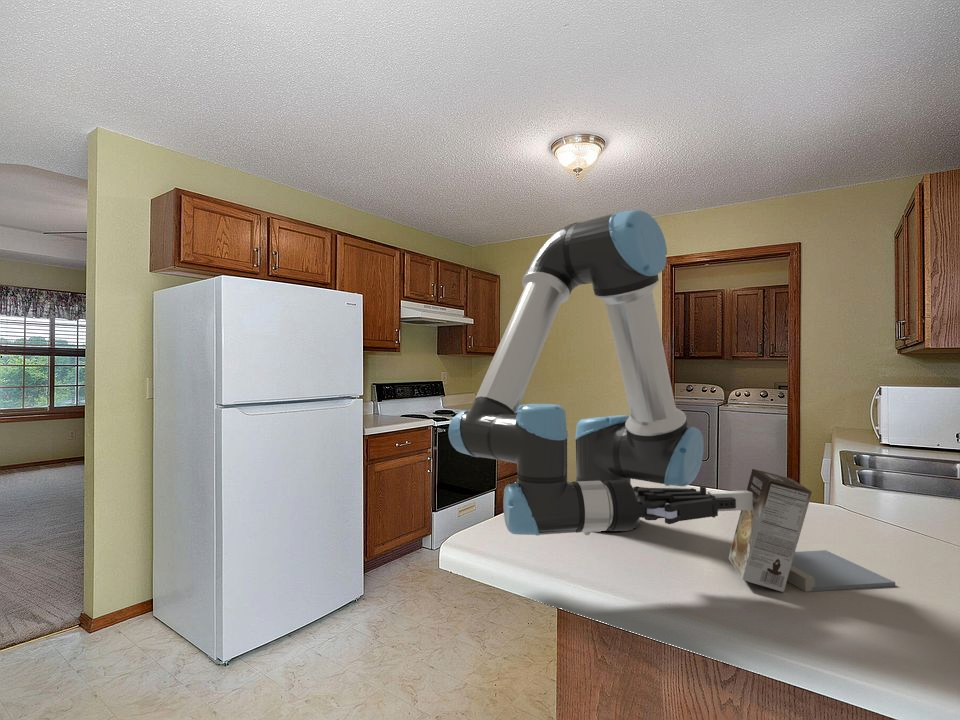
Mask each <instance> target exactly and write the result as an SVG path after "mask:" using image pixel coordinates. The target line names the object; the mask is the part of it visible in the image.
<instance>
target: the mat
mask: <svg viewBox="0 0 960 720" xmlns="http://www.w3.org/2000/svg"><path fill="white" fill-rule="evenodd" d="M787 582H788V583H790V584H791V585H794V586H795V587H797V588H799V589H800V590H802V591H804V592H806V593H807V592H820V591H823V592H824V591H838V590H852V589H853V590H855V589H868V588H870V589H871V588H883V587H884V588H885V587H886V588H887V587H896V581H894V580H892V579H890V578H887V577H885V576H883V575H881V574H878V573H877V572H874V571H872V570H870V569H868V568H865V567H863V566H861V565H859V564H857V563H855V562H852V561H850V560H849V559H845V558H843V557H841V556H840V555H837V554H835V553H832V552H831V551H829V550H826V549H824V550H822V549H821V550H807V551H806V550H803V551H795V554H794V557H793V561H792V565H791V568H790V572H789V575H788V579H787Z"/></svg>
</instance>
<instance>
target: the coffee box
mask: <svg viewBox="0 0 960 720" xmlns="http://www.w3.org/2000/svg"><path fill="white" fill-rule="evenodd" d="M746 490H747V491H750V492H752V502H753V510H740V513H739V516H738V521H737V524H736V528H735V533H734V535H733V540H732V543H731V547H730V550H729V554H728V560H729V561H730V564H731V565H732V566H733V568H734V570H735V571H736V572H737V574H738V575H739V577H740V578H741V579H742V581H745V582H748V583H751V584H755V585H759V586H762V587H764V588H768V589H772V590H775V591H778V592H781V593H784V592H785V589H786V585H787V582H788V581H787V579H788V575H789V572H790V568H791V565H792V561H793V557H794V554H795V552H796V550H797V546H798V543H799V539H800V536H801V532H802V529H803V525H804V523H805V518H806V515H807V511H808V508H809V503H810V500H811V496H812V494H813V491H812V490H811V489H808V488H807V487H805V486H804V485H802V484H800V483H799V482H797V481H796V480H794V479H793V478H790V477H786V476H782V475H778V474H774V473H770V472H768V471H763V470H759V469H756V468H752V470H751V472H750V476H749V479H748V483H747V488H746Z"/></svg>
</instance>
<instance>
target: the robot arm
mask: <svg viewBox="0 0 960 720" xmlns="http://www.w3.org/2000/svg"><path fill="white" fill-rule="evenodd" d="M667 253H668V249H667V242H666V239H665V236H664V232H663V230H662V227H660V225H659V224H658V221H656V219H655V218H654V217H653V216H652V215H651V214H649V213H648V212H646V211H644V210H641V209H632V210H625V211H617V212H613V213H610V214H606V215H604V216H600V217H599V216H598V217H596V218H592V219H587V220H584V221H580V222H574V223H569V224H567V225H565V226H563V227H561V228H560V229H559V230H557V231H556V232H554V233H553V234H552V235H550V237H549V238H548V239H547V240H546V241H545V242H544V243H543V245H542V246H541V247H540V248H539V249H538V251H537V252H536V253H535V255H534V257H533V258H532V260H531V262H530V263H529V265H528V267H527V269H526V271H525V273H524V275H523V277H522V279H521V284H522V288H523V291H522V293H521V295H520V297H519V300H518V301H517V303H516V306H515V308H514V310H513V313H512V314H511V317H510V319H509V321H508V323H507V326H506V328H505V331H504V333H503V335H502V337H501V340H500V342H499V343H498V346H497V349H496V351H495V353H494V355H493V357H492V359H491V362H490V364H489V367H488V368H487V371H486V374H485V376H484V378H483V381H482V382H481V384H480V387H479V389H478V391H477V394H476V396H475V398H474V401H473V403H472V405H471V407H470V409H466V410H461V411H459V412H458V413H456V415H455V416H453V418H452V419H451V421H450V422H449V426H448V431H447V432H448V439H449V440H448V441H449V442H450V445H451V446H452V448H454V449H455V451H456V452H459V453H461V454H464V455H468V456H471V457H475V458H483V459H485V458H486V459H491V460H497V461H502V462H506V463H513V464H516V465H517V466H516V467H517V480H516V482H513V483H508V484H506V486H505V487H504V490H503V497H502V498H503V499H502V504H503V508H502V509H503V517H504V518H503V519H504V523H505V527H506V529H507V531H508V532H509V533H510V534H512V535H518V536H519V535H520V536H521V535H523V536H524V535H525V536H526V535H529V536H530V535H534V536H543V535H556V534H557V535H558V534H572V533H573V534H574V533H577V534H578V533H583V535H585V536H589V535H590V534H591V532H593V533H594V532H595V533H596V532H597V533H598V532H601V531H621V532H627V531H628V532H629V531H633V530H634V529H633V528H635V527H637V526H638V525H639V526H640V524H639V523H640V521H641V520H640V519H641V518H642V519H644V520H646V521H657V520H659V519H664V523H665V524H668V525H672V524H675V523H678V522H684V521H691V520H697V519H698V520H699V519H705V518H713V519H714V518H716V517H718V515H719V512H735V511H736V512H737V511H741V510H753V502H752V492H750V491H747V489H746V490H742V489H741V490H723V491H722V490H721V491H717V490H715V491H707V487H706V486H699V490H698V491H697V489H696V488H681V487H686V486H689V485H690V484H692V482H693V481H694V480H695V479H696V478H697V475H698V474H699V472H700V469H701V466H702V462H703V457H704V449H705V448H704V447H705V446H704V437H703V434H702V432H701V430H700V429H699V428H697V427H695V426H689V423H688V421H687V415H686V413H685V412H684V411H683V410H681V409H679V408H677V406H676V402H675V398H674V393H673V388H672V382H671V377H670V372H669V367H668V363H667V358H666V353H665V348H664V344H663V342H664V341H663V338H662V333H661V328H660V324H659V319H658V313H657V309H656V304H655V299H654V294H653V292H654V289H655V288H656V286H657V285H658V283H659V282H660V279H659V274H660V273H661V272H662V271H663V270H664V269H665V267H666V264H667V257H666V256H667ZM588 284H591V285H592V289H593V293H594V296H595V297H596V298H597V299H598V300H601V301H602V302H604V303H605V309H606V312H607V317H608V320H609V321H608V323H609V326H610V329H611V335H612V339H613V344H614V347H615V353H616V356H617V357H616V358H617V361H618V366H619V368H620V373H621V374H620V375H621V379H622V382H623V383H622V384H623V387H624V391H625V395H626V400H627V404H628V405H627V406H628V408H629V413H630V415H628V414H626V415H625V414H619V415H608V416H607V415H606V416H598V417H589V418H582V419H580V420H579V421H578V422H577V423H576V428H575V438H574V440H575V441H574V442H575V470H576V471H575V472H576V473H575V475H576V476H575V478H576V479H575V480H576V481H568V436H569V433H568V430H567V429H568V428H567V415H566V413H567V412H566V410H565V408H564V407H563V406H561V405H559V404H554V403H528V404H527V403H526V404H525V403H524V404H521V405H520V403H521V401H522V400H523V397H524V395H525V391H526V389H527V387H528V385H529V382H530V379H531V377H532V374H533V373H534V369H535V366H537V362H538V360H539V358H540V355H541V353H542V350H543V348H544V345H545V343H546V340H547V338H548V335H549V333H550V331H551V328H552V326H553V324H554V321H555V319H556V316H557V314H558V311H559V309H560V307H561V305H562V304H565V303H566V302H567V301H569V298H570V296H571V293H572V291H573V290H574V289H575V288H577V287H579V286H581V285H588ZM631 480H636V481H642V482H643V481H644V482H649V483H655V484H662V485H665V486H667V488H666V487H643V486H642V487H641V486H632V483H631V482H632V481H631ZM670 486H674V487H672V488H671V487H670ZM677 487H678V488H677ZM679 487H680V488H679ZM639 526H638V527H639ZM638 527H637V528H638ZM635 529H636V528H635Z"/></svg>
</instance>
